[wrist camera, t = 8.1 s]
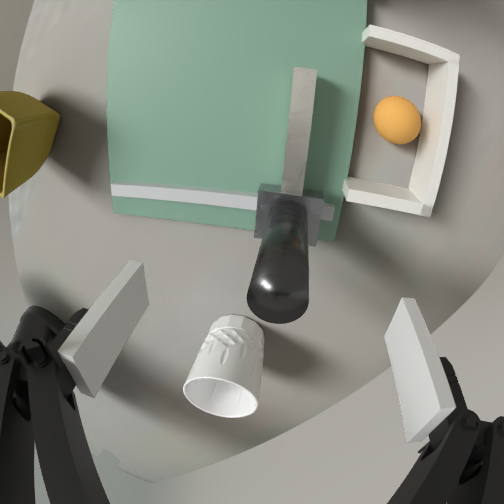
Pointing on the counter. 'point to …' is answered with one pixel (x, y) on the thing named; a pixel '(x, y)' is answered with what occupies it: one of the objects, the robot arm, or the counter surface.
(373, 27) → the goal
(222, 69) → the pitch
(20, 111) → the flower pot
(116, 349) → the robot arm
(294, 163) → the black lever handle
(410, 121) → the ball
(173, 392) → the counter surface
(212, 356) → the white cup
